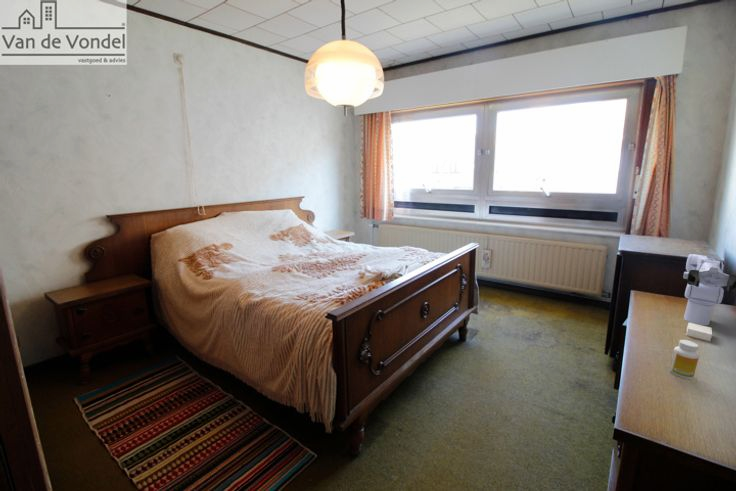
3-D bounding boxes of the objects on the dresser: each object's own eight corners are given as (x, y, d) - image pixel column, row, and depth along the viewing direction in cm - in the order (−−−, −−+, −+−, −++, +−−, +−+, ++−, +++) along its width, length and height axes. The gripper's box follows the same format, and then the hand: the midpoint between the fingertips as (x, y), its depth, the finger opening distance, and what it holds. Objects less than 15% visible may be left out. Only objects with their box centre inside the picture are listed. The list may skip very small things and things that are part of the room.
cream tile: (686, 328, 127) (688, 322, 126) (709, 334, 123) (711, 327, 122) (686, 335, 122) (688, 328, 121) (710, 341, 118) (712, 334, 117)
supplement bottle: (698, 380, 98) (706, 349, 96) (676, 377, 99) (684, 346, 97) (685, 369, 103) (693, 339, 101) (664, 367, 104) (672, 337, 102)
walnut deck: (684, 330, 128) (685, 327, 127) (710, 337, 123) (711, 334, 123) (683, 338, 122) (684, 335, 122) (711, 345, 117) (712, 342, 117)
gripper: (685, 260, 128) (686, 270, 118) (742, 267, 119) (748, 278, 109) (682, 278, 130) (682, 290, 120) (738, 286, 120) (743, 299, 110)
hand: (713, 286), depth 114 cm, fingers open, 7 cm apart
